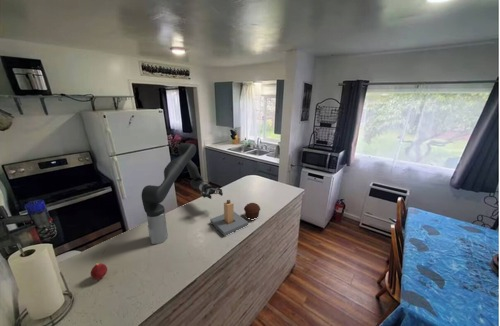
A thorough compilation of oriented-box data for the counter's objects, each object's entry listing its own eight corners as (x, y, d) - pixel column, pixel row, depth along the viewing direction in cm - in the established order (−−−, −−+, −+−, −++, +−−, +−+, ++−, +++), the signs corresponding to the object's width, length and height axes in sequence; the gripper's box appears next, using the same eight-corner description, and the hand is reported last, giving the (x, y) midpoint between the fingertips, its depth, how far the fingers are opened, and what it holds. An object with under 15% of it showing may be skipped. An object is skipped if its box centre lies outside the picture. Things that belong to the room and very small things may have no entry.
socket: (224, 237, 115) (224, 232, 114) (210, 223, 128) (210, 219, 127) (248, 226, 125) (248, 222, 125) (232, 214, 139) (232, 210, 138)
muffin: (250, 223, 128) (250, 210, 125) (240, 216, 136) (240, 203, 134) (263, 217, 136) (263, 204, 133) (253, 210, 144) (253, 198, 141)
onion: (111, 272, 89) (108, 258, 87) (102, 283, 84) (99, 268, 81) (98, 272, 89) (95, 258, 87) (89, 283, 83) (85, 268, 81)
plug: (227, 227, 124) (227, 203, 119) (224, 224, 127) (223, 200, 122) (233, 224, 126) (233, 200, 121) (229, 221, 130) (229, 198, 125)
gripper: (196, 185, 137) (206, 193, 125) (214, 181, 146) (225, 188, 134) (197, 195, 139) (207, 203, 127) (214, 190, 148) (225, 198, 136)
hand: (216, 195), depth 130 cm, fingers open, 8 cm apart
